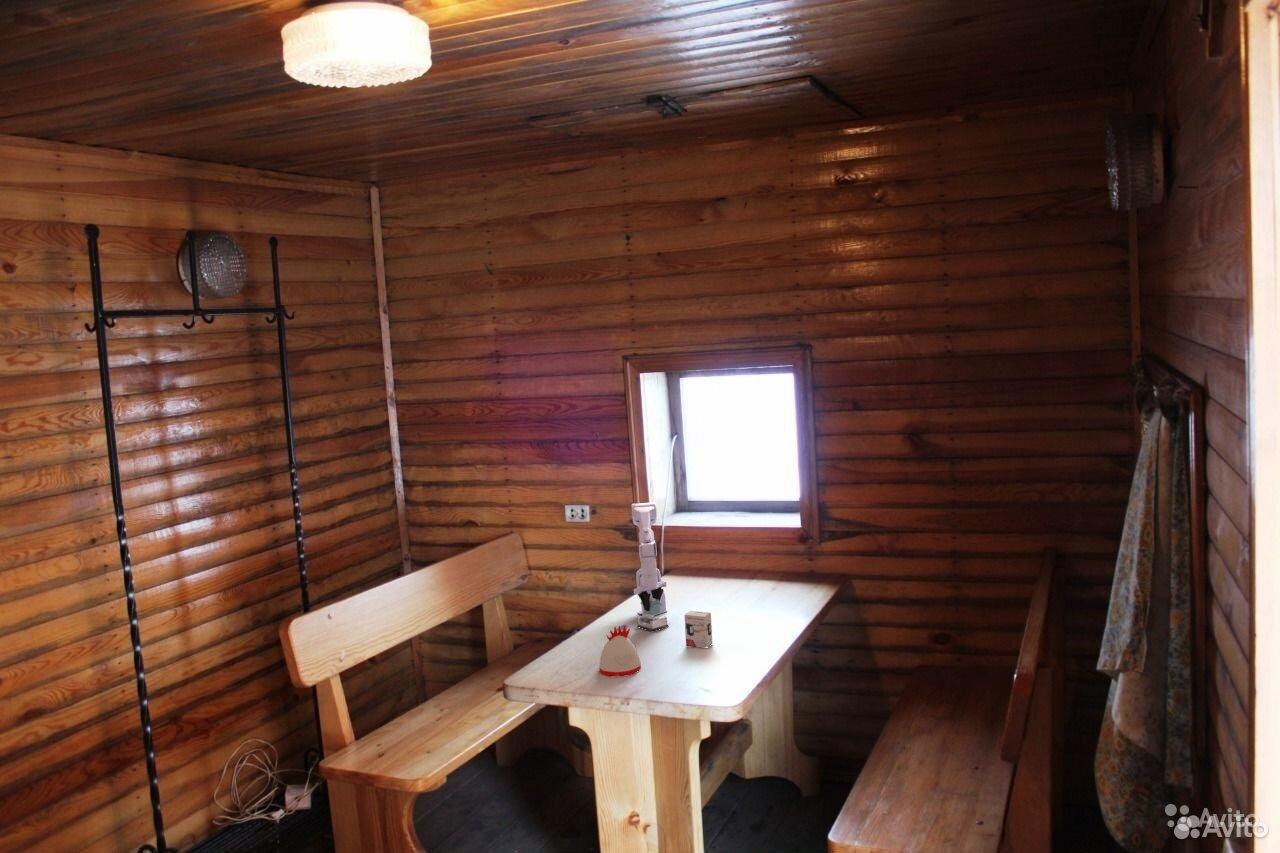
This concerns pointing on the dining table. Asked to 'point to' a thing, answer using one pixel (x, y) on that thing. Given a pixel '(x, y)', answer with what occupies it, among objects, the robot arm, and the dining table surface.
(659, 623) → the plate
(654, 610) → the block
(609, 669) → the chicken hat
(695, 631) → the ink box
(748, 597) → the dining table surface
